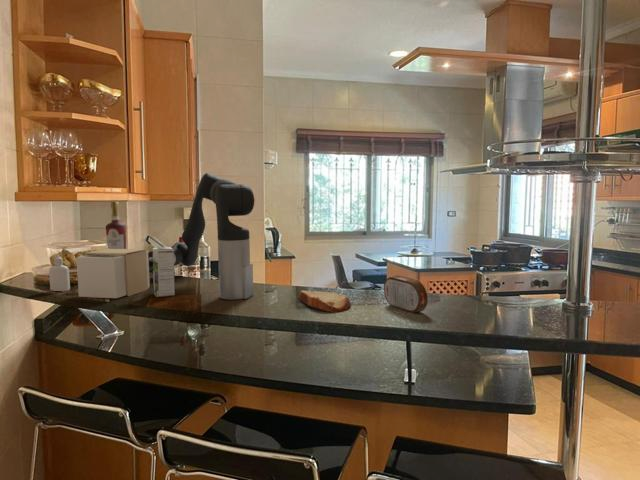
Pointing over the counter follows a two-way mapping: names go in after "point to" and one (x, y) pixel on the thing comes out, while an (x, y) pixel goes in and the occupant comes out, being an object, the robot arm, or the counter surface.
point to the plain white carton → (103, 275)
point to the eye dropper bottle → (59, 276)
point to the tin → (405, 293)
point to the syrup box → (163, 271)
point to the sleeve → (131, 267)
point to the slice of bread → (325, 301)
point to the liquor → (116, 230)
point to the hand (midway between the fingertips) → (131, 266)
